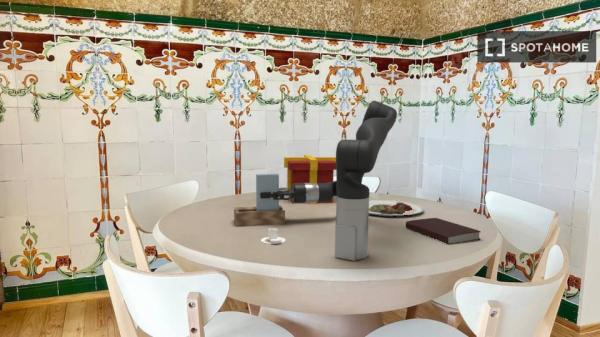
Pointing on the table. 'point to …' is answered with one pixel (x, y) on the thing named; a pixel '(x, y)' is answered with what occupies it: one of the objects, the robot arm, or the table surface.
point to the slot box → (258, 216)
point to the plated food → (392, 208)
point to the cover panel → (266, 185)
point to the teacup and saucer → (273, 237)
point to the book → (443, 230)
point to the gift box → (309, 171)
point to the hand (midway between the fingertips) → (259, 194)
